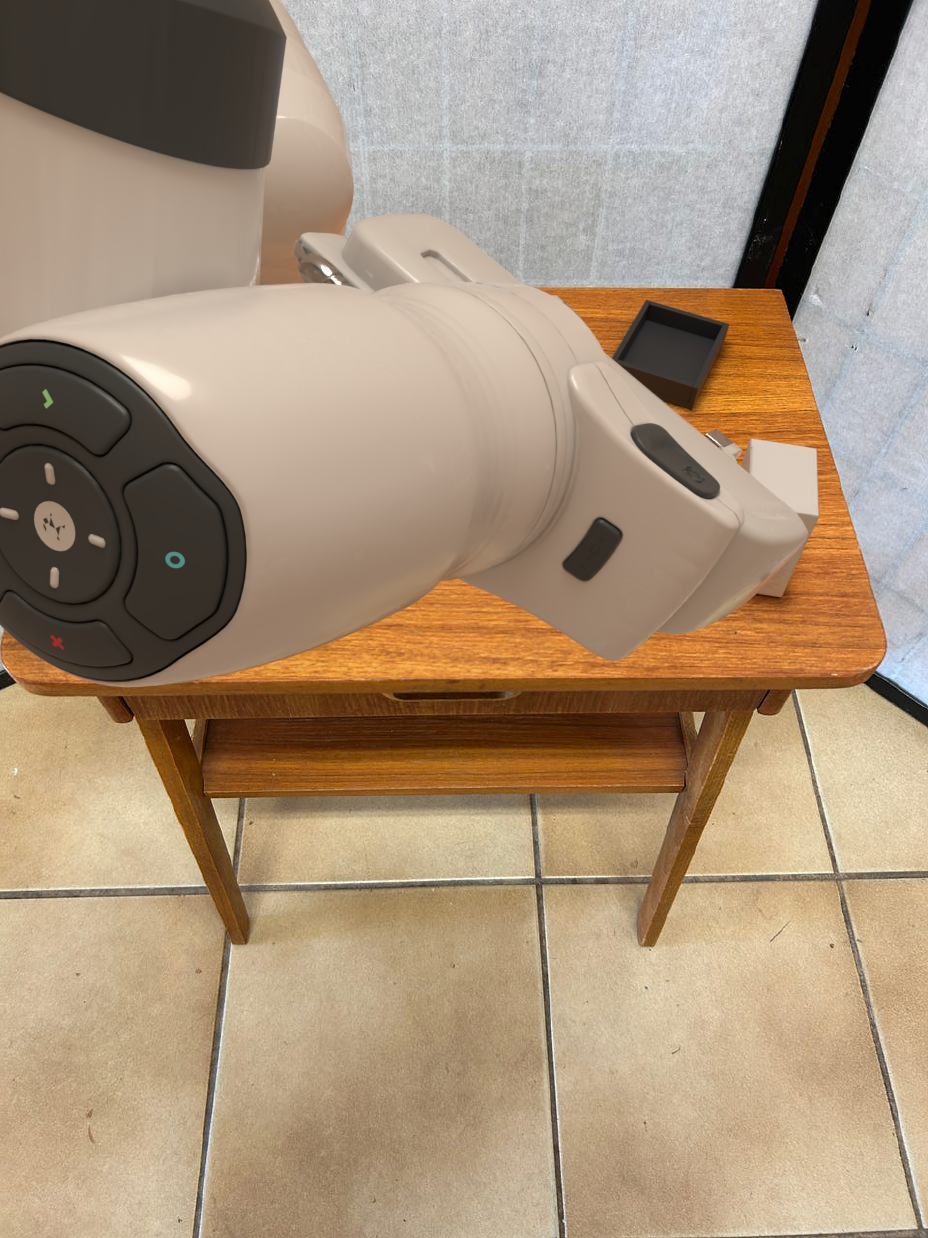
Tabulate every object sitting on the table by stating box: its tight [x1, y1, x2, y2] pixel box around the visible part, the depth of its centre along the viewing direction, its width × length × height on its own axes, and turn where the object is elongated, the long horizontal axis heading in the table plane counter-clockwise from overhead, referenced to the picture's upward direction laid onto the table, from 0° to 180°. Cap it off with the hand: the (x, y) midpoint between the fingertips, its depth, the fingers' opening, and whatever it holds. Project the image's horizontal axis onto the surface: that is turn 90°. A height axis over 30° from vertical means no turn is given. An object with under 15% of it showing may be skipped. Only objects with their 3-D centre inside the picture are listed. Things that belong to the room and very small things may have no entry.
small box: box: [740, 438, 820, 598], centre depth 80 cm, size 8×6×10 cm
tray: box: [611, 299, 730, 411], centre depth 99 cm, size 9×11×3 cm
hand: (638, 386), depth 42 cm, fingers open, 8 cm apart
